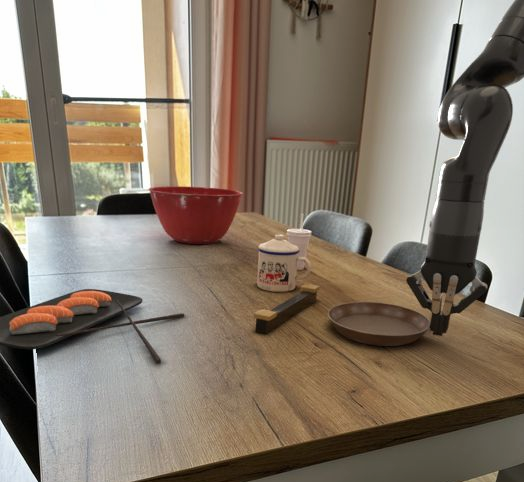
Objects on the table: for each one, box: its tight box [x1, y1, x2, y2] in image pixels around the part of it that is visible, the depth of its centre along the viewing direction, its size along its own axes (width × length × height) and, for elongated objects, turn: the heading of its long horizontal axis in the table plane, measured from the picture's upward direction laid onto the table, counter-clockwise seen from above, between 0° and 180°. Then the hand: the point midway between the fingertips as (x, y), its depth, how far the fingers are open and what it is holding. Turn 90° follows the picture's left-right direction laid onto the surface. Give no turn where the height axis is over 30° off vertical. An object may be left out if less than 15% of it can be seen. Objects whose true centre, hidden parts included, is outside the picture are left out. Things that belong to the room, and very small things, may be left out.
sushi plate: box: [0, 288, 185, 364], centre depth 84 cm, size 29×30×4 cm
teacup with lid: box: [256, 234, 312, 293], centre depth 113 cm, size 12×9×12 cm
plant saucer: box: [327, 301, 431, 347], centre depth 91 cm, size 18×18×3 cm
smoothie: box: [286, 212, 312, 271], centre depth 132 cm, size 6×6×14 cm
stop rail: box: [253, 283, 321, 335], centre depth 97 cm, size 3×24×3 cm, turn 154°
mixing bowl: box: [147, 185, 243, 245], centre depth 160 cm, size 28×28×15 cm
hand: (437, 333), depth 86 cm, fingers closed
